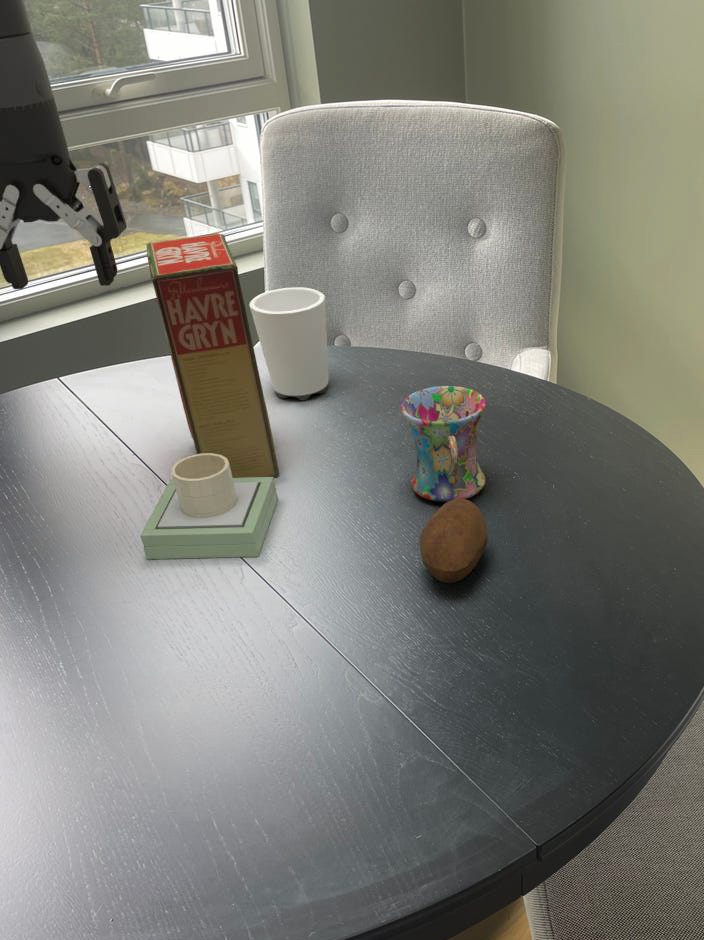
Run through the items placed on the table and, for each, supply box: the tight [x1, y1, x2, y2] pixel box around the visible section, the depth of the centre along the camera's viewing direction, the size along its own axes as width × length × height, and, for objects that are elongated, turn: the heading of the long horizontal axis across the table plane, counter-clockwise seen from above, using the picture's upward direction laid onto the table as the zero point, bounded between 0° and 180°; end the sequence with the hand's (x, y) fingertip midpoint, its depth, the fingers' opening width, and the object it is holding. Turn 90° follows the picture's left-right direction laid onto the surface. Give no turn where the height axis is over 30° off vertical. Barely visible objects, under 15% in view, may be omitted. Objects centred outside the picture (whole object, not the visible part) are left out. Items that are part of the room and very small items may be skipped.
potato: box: [419, 498, 488, 584], centre depth 97 cm, size 7×12×7 cm, turn 175°
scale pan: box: [158, 482, 259, 529], centre depth 106 cm, size 9×9×1 cm
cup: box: [249, 286, 330, 401], centre depth 132 cm, size 10×10×13 cm
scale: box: [140, 477, 279, 560], centre depth 107 cm, size 12×12×3 cm
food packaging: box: [146, 232, 280, 479], centre depth 112 cm, size 13×9×25 cm
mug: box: [400, 385, 487, 503], centre depth 108 cm, size 12×9×11 cm
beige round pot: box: [170, 453, 237, 518], centre depth 104 cm, size 6×6×4 cm
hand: (64, 285), depth 94 cm, fingers open, 8 cm apart
